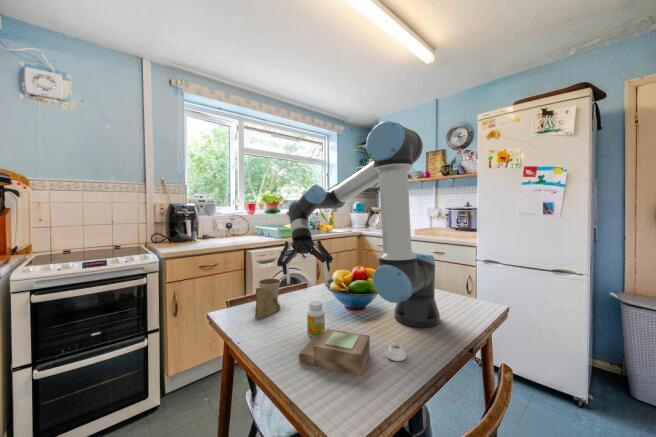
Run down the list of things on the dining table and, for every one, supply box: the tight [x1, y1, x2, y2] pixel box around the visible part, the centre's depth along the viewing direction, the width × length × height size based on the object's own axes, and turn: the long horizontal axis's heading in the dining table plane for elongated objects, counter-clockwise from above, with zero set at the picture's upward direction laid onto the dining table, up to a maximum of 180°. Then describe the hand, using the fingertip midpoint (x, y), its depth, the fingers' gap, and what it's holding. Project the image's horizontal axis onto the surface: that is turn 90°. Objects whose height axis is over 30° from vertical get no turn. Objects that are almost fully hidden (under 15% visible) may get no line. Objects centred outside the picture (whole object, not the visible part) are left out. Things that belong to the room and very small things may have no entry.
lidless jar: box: [385, 342, 407, 362], centre depth 72 cm, size 5×3×5 cm
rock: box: [254, 287, 281, 321], centre depth 101 cm, size 11×9×10 cm
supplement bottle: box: [306, 300, 326, 338], centre depth 85 cm, size 5×5×10 cm
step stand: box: [298, 328, 370, 377], centre depth 71 cm, size 16×10×5 cm, turn 70°
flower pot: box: [257, 278, 282, 301], centre depth 114 cm, size 9×9×9 cm
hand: (308, 280), depth 94 cm, fingers open, 13 cm apart
